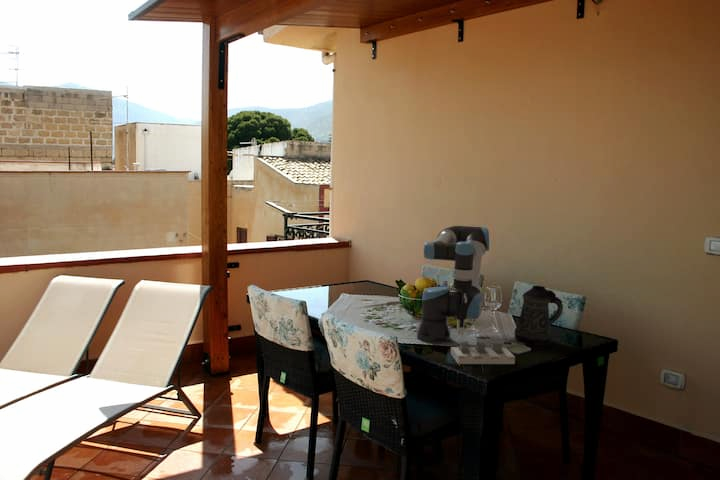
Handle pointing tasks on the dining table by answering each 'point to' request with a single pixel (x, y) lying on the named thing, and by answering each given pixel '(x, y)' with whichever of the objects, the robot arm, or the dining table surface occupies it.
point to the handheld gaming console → (514, 347)
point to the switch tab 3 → (497, 347)
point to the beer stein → (537, 316)
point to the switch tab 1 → (464, 347)
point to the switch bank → (482, 356)
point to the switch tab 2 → (480, 347)
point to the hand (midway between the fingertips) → (460, 334)
